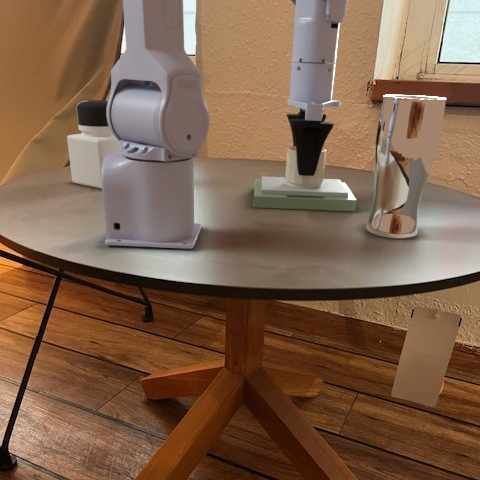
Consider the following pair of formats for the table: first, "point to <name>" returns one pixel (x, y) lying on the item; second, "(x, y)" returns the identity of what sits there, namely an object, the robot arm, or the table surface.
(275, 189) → the scale
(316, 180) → the cup
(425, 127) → the beer glass
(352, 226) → the table surface
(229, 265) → the table surface
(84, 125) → the medicine bottle
